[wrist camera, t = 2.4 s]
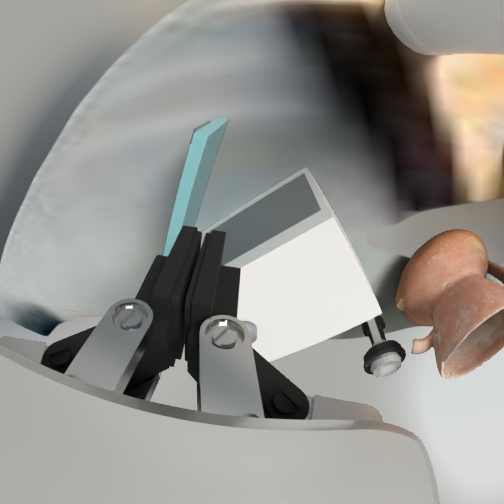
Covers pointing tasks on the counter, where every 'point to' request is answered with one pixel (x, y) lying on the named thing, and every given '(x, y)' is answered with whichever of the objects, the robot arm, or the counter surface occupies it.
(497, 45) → the bottle
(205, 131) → the side door
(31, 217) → the counter surface
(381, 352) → the push button
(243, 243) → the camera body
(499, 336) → the ceramic jug
